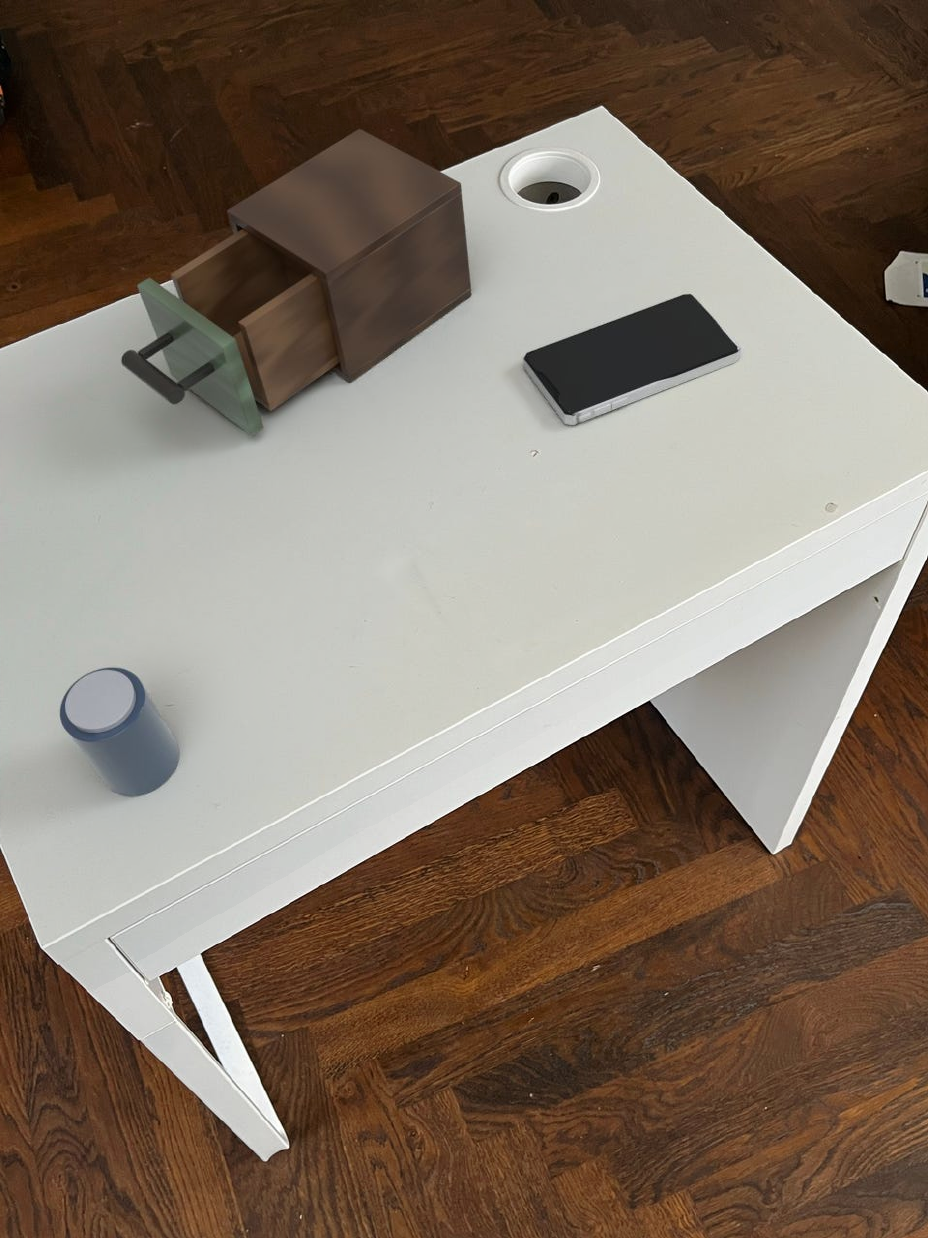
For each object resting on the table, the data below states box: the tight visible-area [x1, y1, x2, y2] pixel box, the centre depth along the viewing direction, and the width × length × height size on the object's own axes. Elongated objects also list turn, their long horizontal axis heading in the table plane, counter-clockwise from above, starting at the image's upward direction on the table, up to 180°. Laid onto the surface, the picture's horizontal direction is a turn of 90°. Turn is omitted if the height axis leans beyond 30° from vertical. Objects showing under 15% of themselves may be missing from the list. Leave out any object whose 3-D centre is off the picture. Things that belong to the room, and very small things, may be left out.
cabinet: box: [226, 128, 472, 384], centre depth 91 cm, size 14×12×11 cm
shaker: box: [59, 666, 180, 797], centre depth 69 cm, size 5×5×8 cm
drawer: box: [120, 229, 340, 437], centre depth 87 cm, size 17×10×9 cm, turn 135°
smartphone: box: [522, 293, 742, 426], centre depth 88 cm, size 8×1×15 cm
